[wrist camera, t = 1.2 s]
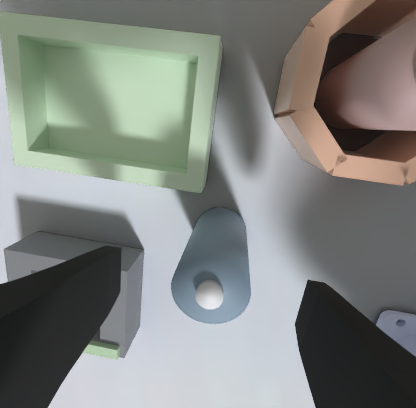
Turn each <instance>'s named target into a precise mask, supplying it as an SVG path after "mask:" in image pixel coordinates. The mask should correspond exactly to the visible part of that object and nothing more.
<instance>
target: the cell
mask: <svg viewBox="0 0 416 408" xmlns="http://www.w3.org/2000/svg"><path fill="white" fill-rule="evenodd" d="M171 290H172V295H173V298H174V301H175V302H176V304H177V306H178V307H179V308H180V309H181V310H182V311H183V312H184V313H185V314H186V315H187V316H189V317H191V318H192V319H194V320H197V321H200V322H203V323H209V324H220V323H225V322H228V321H231V320H233V319H235V318H236V317H238V316H239V315H240V314H242V312H243V311H244V310H245V309H246V307H247V305H248V303H249V300H250V296H251V287H250V274H249V260H248V247H247V233H246V226H245V223H244V221H243V220H242V218H241V217H240V216H239V215H238V214H237V213H236V212H234V211H232V210H230V209H227V208H213V209H210V210H207V211H206V212H204V213H203V214H202V215H201V216H200V217H199V219H198V220H197V223H196V225H195V227H194V229H193V232H192V234H191V236H190V239H189V241H188V243H187V246H186V248H185V250H184V252H183V255H182V257H181V259H180V262H179V264H178V266H177V269H176V271H175V273H174V275H173V278H172V283H171Z"/></svg>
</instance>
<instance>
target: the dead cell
mask: <svg viewBox="0 0 416 408" xmlns="http://www.w3.org/2000/svg"><path fill="white" fill-rule="evenodd" d="M315 101H316V108H317V111H318V113H319V115H320V117H321V118H322V120H323V121H325V122H326V123H327V124H328V125H330V126H332V127H335V128H341V129H372V130H406V131H416V17H414V18H413V19H411V20H409V21H408V22H406V23H405V24H403V25H401V26H400V27H398V28H396V29H395V30H393V31H392V32H390V33H388V34H387V35H385V36H383V37H382V38H380V39H378V40H377V41H375V42H374V43H372V44H370V45H369V46H367V47H365V48H364V49H362V50H361V51H359V52H357V53H356V54H354V55H352V56H351V57H349V58H348V59H346V60H344V61H343V62H341V63H339V64H338V65H336V66H335V67H333V68H332V69H331V70H329V71H328V72H327V73H326V74H325V76H324V77H323V78H322V80H321V82H320V84H319V86H318V88H317V92H316V100H315Z"/></svg>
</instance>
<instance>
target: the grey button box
mask: <svg viewBox="0 0 416 408" xmlns="http://www.w3.org/2000/svg"><path fill="white" fill-rule="evenodd" d="M106 245H108V246H113V247H119V248H122V251H121V291H120V294H119V296H118V298H117V300H116V302H115V304H114V306H113V308H112V309H111V311H110V313H109V315H108V316H107V318H106V319H105V321H104V322H103V324H102V325H101V327H100V328H99V330H98V331H97V333H96V334H95V335H94V337H93V338H92V340H91V341H90V343H89V344H88V345H87V347H86V348H85V350H84V351H83V353H88V354H93V355H98V356H102V357H107V358H112V359H118V357H121V358H124V357H125V355H126V353H127V351H128V349H129V347H130V345H131V343H132V341H133V339H134V337H135V335H136V333H137V331H138V329H139V327H140V311H141V293H142V276H143V258H144V250H143V249H138V248H132V247H126V246H120V245H115V244H109V243H103V242H97V241H92V240H86V239H80V238H74V237H69V236H63V235H57V234H51V233H46V232H40V231H37V232H35V233H34V234H32V235H30V236H28V237H26V238H24V239H22V240H20V241H18V242H16V243H15V244H13V245H11V246H9V247H7V248H5V249H4V255H5V263H6V270H7V278H8V282H10V281H13V280H16V279H19V278H22V277H25V276H27V275H30V274H33V273H36V272H38V271H41V270H44V269H47V268H49V267H52V266H55V265H57V264H60V263H62V262H65V261H67V260H70V259H72V258H75V257H77V256H79V255H82V254H84V253H87V252H89V251H92V250H94V249H97V248H100V247H103V246H106Z"/></svg>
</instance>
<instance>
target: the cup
mask: <svg viewBox="0 0 416 408" xmlns="http://www.w3.org/2000/svg"><path fill="white" fill-rule="evenodd" d="M414 17H416V0H333V1H331V2H330V3H329V4H328V5H327V6H325V7H324V8H323V9H322V10H321V11H320V12H318V13H317V14H316V15H315V16H314V17H312V18H311V19H310V20H309V22H308V23H307V25H306V26H305V28H304V29H303V31H302V32H301V34H300V35H299V37H298V38H297V40H296V41H295V43H294V44H293V46H292V47H291V49H290V50H289V52H288V53H287V55H286V57H285V58H284V63H283V68H282V73H281V78H280V83H279V89H278V94H277V99H276V104H275V109H274V114H275V115H279V116H277V117H276V118H275V120H276V122H277V123H278V125H279V126H280V128H281V129H282V131H283V132H284V134H285V135H286V137H287V138H288V140H289V141H290V143H291V144H292V146H293V147H294V149H295V150H296V152H297V153H298V154H299V156H300V157H301V159H302V160H304V161H306V162H308V163H309V164H311V165H313V166H315V167H317V168H319V169H321V170H323V171H324V172H326V173H328V174H330V175H332V176H338V177H345V178H352V179H359V180H366V181H373V182H380V183H387V184H393V185H400V186H403V184H404V183H407V184H411V183H413V182H415V181H416V131H406V130H388V131H387V132H385V133H383V134H382V135H380V136H379V137H377V138H376V139H374V140H373V141H371V142H370V143H368V144H367V145H365V146H363V147H362V148H360V149H359V150H357V151H356V152H352V151H345V150H341V148H340V147H339V145H338V144H337V142H336V140H335V139H334V137H333V136H332V134H331V133H330V131H329V129H328V128H327V126H326V125H325V123H324V122H323V120H322V119H321V117H320V115H319V114H318V112H317V111H316V109H315V108H314V106H313V105H314V101H315V97H316V92H317V88H318V84H319V80H320V76H321V72H322V67H323V63H324V59H325V55H326V51H327V46H328V43H329V42H330V41H332V40H333V39H334V38H336V37H337V36H338V35H339V34H341V33H350V34H360V35H369V36H379V37H383V36H385V35H387V34H388V33H390V32H392V31H393V30H395V29H396V28H398V27H400V26H401V25H403V24H405V23H406V22H408V21H409V20H411V19H413V18H414Z"/></svg>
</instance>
